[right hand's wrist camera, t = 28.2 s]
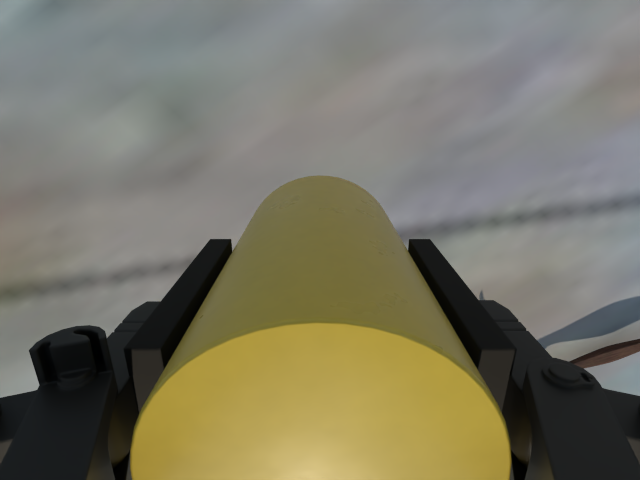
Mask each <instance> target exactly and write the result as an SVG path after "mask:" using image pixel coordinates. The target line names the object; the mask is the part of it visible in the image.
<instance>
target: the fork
mask: <svg viewBox="0 0 640 480" xmlns="http://www.w3.org/2000/svg"><path fill="white" fill-rule="evenodd" d="M639 351H640V339H637V340H632V341H628V342H623V343H619V344H614V345H610V346H607V347H604V348H601V349H598V350H596V351H593V352H591V353H588V354H586V355H584V356H581V357H579V358H577V359H574V360H572V361H570V362H571V363H573V364H575V365H577V366H579V367H581V368H587V367H592V366H597V365H601V364H606V363H609V362H613V361H616V360H619V359H621V358H624V357H627V356H629V355H632V354H634V353H637V352H639Z"/></svg>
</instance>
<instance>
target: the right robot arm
mask: <svg viewBox="0 0 640 480" xmlns="http://www.w3.org/2000/svg"><path fill="white" fill-rule="evenodd" d="M408 252H409V254H410V255H411V257H412V259H413V261H414V262H415V264H416V266H417V267H418V269H419V271H420V272H421V274H422V276H423V278H424V279H425V281H426V283H427V284H428V286H429V288H430V290H431V291H432V293H433V295H434V296H435V298H436V300H437V301H438V303H439V305H440V307H441V308H442V310H443V312H444V313H445V315H446V317H447V318H448V320H449V322H450V324H451V325H452V327H453V329H454V330H455V332H456V334H457V335H458V337H459V339H460V341H461V342H462V344H463V346H464V347H465V349H466V351H467V353H468V354H469V356H470V358H471V359H472V361H473V363H474V364H475V366H476V368H477V370H478V371H479V373H480V375H481V376H482V378H483V380H484V381H485V383H486V385H487V387H488V388H489V390H490V392H491V393H492V395H493V397H494V398H495V400H496V402H497V404H498V406H499V408H500V410H501V413H502V415H503V417H504V419H505V422H506V426H507V429H508V433H509V437H510V445H511V460H512V462H511V471H510V480H640V396H636V395H632V394H627V393H622V392H617V391H612V390H607V389H604V388H602V387H601V385H600V384H599V382H598V381H597V380H596V379H595V377H594V376H593V375H591V374H590V373H589V372H587V371H586V370H584V369H583V368H581V367H579V366H577V365H575V364H573V363H571V362H568V361H564V360H561V359H557V358H552V357H551V356H550V355H549V353H548V352H547V351H546V350H545V349H544V348H543V347H542V346H541V345H540V344H539V342H538V341H537V340H536V339H535V338H534V337H533V336H532V335H531V334H530V332H529V331H526V328H525V327H524V326H523V325H522V324H521V323H520V322H518V319H517V318H516V317H515V316H514V315H513V314H512V313H511V311H510V310H509V309H507V308H505V307H504V306H502V305H500V304H499V303H497V302H495V301H494V300H478V299H477V298H476V297H475V295H474V294H473V293H472V292H471V290H470V289H469V288H468V287H467V285H466V284H465V283H464V281H463V280H462V279H461V278H460V276H459V275H458V274H457V273H456V271H455V270H454V269H453V268H452V266H451V265H450V264H449V263H448V261H447V260H446V259H445V258H444V256H443V255H442V254H441V253H440V251H439V250H438V249H437V248H436V246H435V245H434V244H433V243H432V241H431V240H430V239H409V247H408ZM231 254H232V244H231V239H210V240H209V242H208V243H207V244H206V245H205V247H204V248H203V249H202V250H201V252H200V253H199V254H198V255H197V257H196V258H195V259H194V260H193V262H192V263H191V264H190V265H189V267H188V268H187V269H186V271H185V272H184V273H183V274H182V276H181V277H180V278H179V279H178V281H177V282H176V283H175V284H174V286H173V287H172V288H171V289H170V291H169V292H168V293H167V294H166V296H165V297H164V298H163V299H162V301H161V302H146V303H144V304H142V305H141V306H139V307H137V308H136V309H134V310H132V311H131V312H130V313H129V314H128V316H127V317H126V318H125V319H124V320H123V321H122V323H120V325H119V326H118V327H117V328H116V329H115V330H114V332H112V333H111V335H110V336H109V337H108V338H106V333H105V331H104V330H103V329H101V328H100V327H96V326H90V325H88V326H75V327H71V328H67V329H63V330H60V331H58V332H55V333H53V334H50V335H48V336H46V337H45V338H43V339H41V340H40V341H38V342H37V343H36V344H35V345H34V346H33V347H32V348H31V349H30V350H29V352H30V355H31V359H32V362H33V365H34V368H35V372H36V375H37V378H38V381H39V384H40V386H39V388H38V390H36V391H32V392H27V393H22V394H17V395H12V396H7V397H3V398H0V480H132V476H131V470H130V446H131V441H132V435H133V430H134V426H135V424H136V421H137V419H138V416H139V413H140V411H141V408H142V407H143V405H144V403H145V402H146V400H147V398H148V396H149V395H150V393H151V391H152V390H153V388H154V386H155V384H156V383H157V381H158V379H159V378H160V376H161V374H162V372H163V371H164V369H165V367H166V365H167V364H168V362H169V360H170V359H171V357H172V355H173V353H174V352H175V350H176V348H177V347H178V345H179V343H180V341H181V340H182V338H183V336H184V334H185V333H186V331H187V329H188V328H189V326H190V324H191V322H192V321H193V319H194V317H195V316H196V314H197V312H198V310H199V309H200V307H201V305H202V303H203V302H204V300H205V298H206V297H207V295H208V293H209V291H210V290H211V288H212V286H213V285H214V283H215V281H216V279H217V278H218V276H219V274H220V272H221V271H222V269H223V267H224V266H225V264H226V262H227V260H228V259H229V257H230V255H231Z"/></svg>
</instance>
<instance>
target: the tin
mask: <svg viewBox="0 0 640 480" xmlns="http://www.w3.org/2000/svg"><path fill="white" fill-rule="evenodd" d="M511 462H512V460H511V445H510V437H509V433H508V429H507V426H506V422H505V419H504V417H503V415H502V413H501V410H500V408H499V406H498V404H497V402H496V400H495V398H494V397H493V395H492V393H491V392H490V390H489V388H488V387H487V385H486V383H485V381H484V380H483V378H482V376H481V375H480V373H479V371H478V370H477V368H476V366H475V364H474V363H473V361H472V359H471V358H470V356H469V354H468V353H467V351H466V349H465V347H464V346H463V344H462V342H461V341H460V339H459V337H458V335H457V334H456V332H455V330H454V329H453V327H452V325H451V324H450V322H449V320H448V318H447V317H446V315H445V313H444V312H443V310H442V308H441V307H440V305H439V303H438V301H437V300H436V298H435V296H434V295H433V293H432V291H431V290H430V288H429V286H428V284H427V283H426V281H425V279H424V278H423V276H422V274H421V272H420V271H419V269H418V267H417V266H416V264H415V262H414V261H413V259H412V257H411V255H410V254H409V252H408V250H407V249H406V247H405V245H404V244H403V242H402V240H401V238H400V237H399V235H398V233H397V232H396V230H395V228H394V227H393V225H392V223H391V221H390V220H389V218H388V216H387V215H386V213H385V211H384V210H383V208H382V207H381V205H380V204H379V203H378V202H377V200H376V199H375V198H374V197H373V196H372V195H371V194H369V193H368V192H367V191H366V190H364V189H363V188H361V187H360V186H358V185H356V184H354V183H352V182H350V181H347V180H344V179H341V178H337V177H331V176H309V177H304V178H299V179H296V180H294V181H291V182H288V183H286V184H284V185H283V186H281V187H279V188H278V189H276V190H275V191H273V192H272V193H271V194H270V195H269V196H268V197H267V198H266V199H265V200H264V201H263V202H262V203H261V205H260V206H259V207H258V209H257V211H256V212H255V214H254V216H253V217H252V219H251V221H250V223H249V224H248V226H247V228H246V229H245V231H244V233H243V235H242V236H241V238H240V240H239V241H238V243H237V245H236V247H235V248H234V250H233V252H232V254H231V255H230V257H229V259H228V260H227V262H226V264H225V266H224V267H223V269H222V271H221V272H220V274H219V276H218V278H217V279H216V281H215V283H214V285H213V286H212V288H211V290H210V291H209V293H208V295H207V297H206V298H205V300H204V302H203V303H202V305H201V307H200V309H199V310H198V312H197V314H196V316H195V317H194V319H193V321H192V322H191V324H190V326H189V328H188V329H187V331H186V333H185V334H184V336H183V338H182V340H181V341H180V343H179V345H178V347H177V348H176V350H175V352H174V353H173V355H172V357H171V359H170V360H169V362H168V364H167V365H166V367H165V369H164V371H163V372H162V374H161V376H160V378H159V379H158V381H157V383H156V384H155V386H154V388H153V390H152V391H151V393H150V395H149V396H148V398H147V400H146V402H145V403H144V405H143V407H142V408H141V411H140V413H139V416H138V419H137V421H136V424H135V426H134V430H133V435H132V441H131V446H130V470H131V476H132V480H510V471H511Z"/></svg>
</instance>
